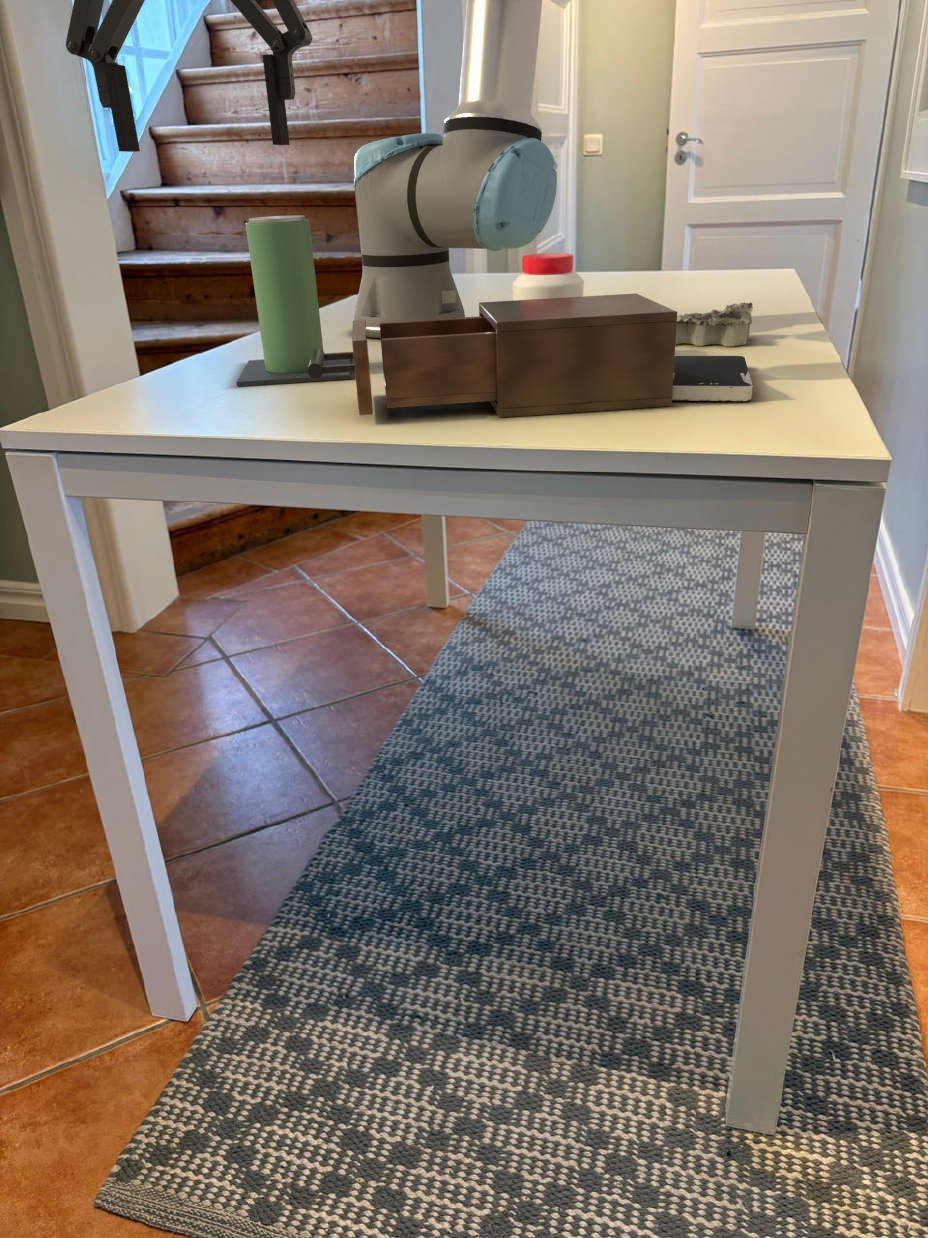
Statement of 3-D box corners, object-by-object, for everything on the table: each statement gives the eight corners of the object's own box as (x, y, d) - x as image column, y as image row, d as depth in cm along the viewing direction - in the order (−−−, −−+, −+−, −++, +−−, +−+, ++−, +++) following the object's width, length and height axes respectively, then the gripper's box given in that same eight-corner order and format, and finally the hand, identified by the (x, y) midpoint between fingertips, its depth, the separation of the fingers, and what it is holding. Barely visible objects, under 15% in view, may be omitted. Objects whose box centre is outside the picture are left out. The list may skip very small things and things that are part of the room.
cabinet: (498, 417, 79) (496, 322, 75) (481, 386, 90) (478, 302, 86) (671, 406, 80) (677, 311, 76) (633, 376, 91) (636, 293, 88)
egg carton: (753, 337, 108) (757, 301, 106) (743, 349, 102) (747, 311, 100) (665, 333, 112) (668, 299, 110) (650, 344, 106) (653, 308, 104)
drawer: (310, 418, 78) (301, 343, 75) (316, 389, 88) (308, 322, 85) (523, 404, 79) (522, 330, 76) (504, 377, 89) (503, 311, 87)
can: (268, 363, 103) (248, 217, 96) (326, 359, 104) (310, 214, 97) (263, 375, 97) (241, 220, 90) (324, 371, 98) (307, 217, 91)
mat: (249, 364, 106) (248, 360, 106) (351, 358, 107) (350, 353, 106) (236, 386, 95) (236, 381, 95) (350, 379, 96) (349, 374, 96)
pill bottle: (579, 368, 96) (581, 258, 91) (508, 368, 98) (506, 259, 93) (585, 354, 103) (587, 250, 98) (518, 354, 104) (517, 252, 99)
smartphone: (744, 355, 92) (753, 387, 79) (742, 368, 93) (751, 402, 80) (668, 355, 94) (665, 386, 81) (667, 368, 95) (664, 401, 82)
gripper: (-24, -171, 66) (46, 153, 76) (307, -197, 64) (336, 140, 73) (28, -140, 73) (87, 154, 82) (330, -162, 71) (354, 142, 80)
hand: (205, 148), depth 78 cm, fingers open, 13 cm apart
